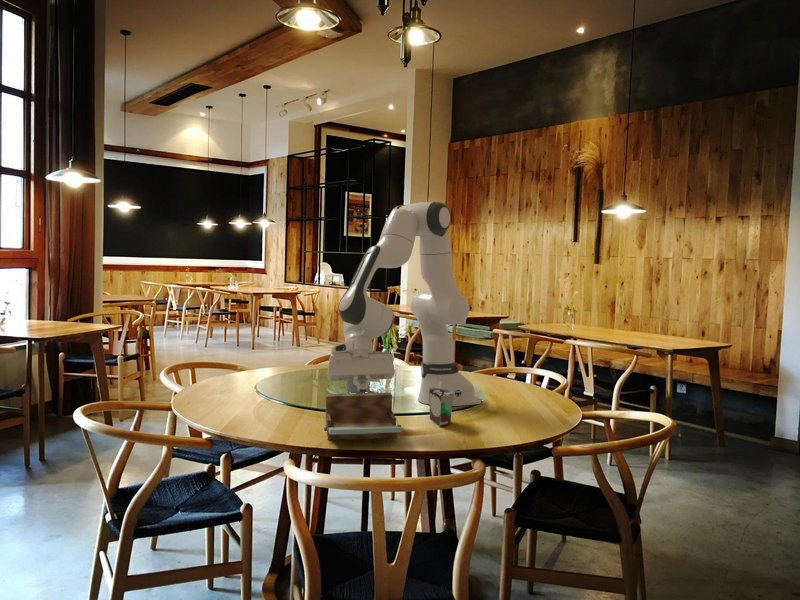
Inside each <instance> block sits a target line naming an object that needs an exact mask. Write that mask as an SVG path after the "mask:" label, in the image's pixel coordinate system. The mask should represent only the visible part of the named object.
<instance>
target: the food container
mask: <svg viewBox="0 0 800 600" xmlns="http://www.w3.org/2000/svg"><path fill="white" fill-rule="evenodd" d="M454 400H455V397H454V394H453V392H452V391H451V390H448V389H442V388H429V402H430V404H429V420H430V421H431V422H432V423H433V424H435V425H436V426H437V427H439V428H445V427H449V426H451V422H452V419H451V418H452V409H453V406H452V402H453V401H454Z"/></svg>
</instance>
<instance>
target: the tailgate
mask: <svg viewBox="0 0 800 600" xmlns="http://www.w3.org/2000/svg"><path fill="white" fill-rule="evenodd" d="M392 432H397V433H403V432H402V426H401V427H399V426H398V425H396V426H366V427H334V428H329V434H330V435H333V434H354V435H365V434H377V433H392Z"/></svg>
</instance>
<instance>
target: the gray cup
mask: <svg viewBox="0 0 800 600" xmlns="http://www.w3.org/2000/svg"><path fill="white" fill-rule="evenodd" d="M345 382H346V392H347V391H348V392H351V393H365V392H358V388H357V387H356V385H355V384H354V383H353V380H349V381H345ZM358 382H359V383H360V384H365V383H366V381H365V380H358ZM370 385H371V382H370V383H369V385H368V391H366V392H369V393H370V391H371V387H370ZM348 392H347V393H348Z"/></svg>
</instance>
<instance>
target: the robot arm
mask: <svg viewBox="0 0 800 600" xmlns="http://www.w3.org/2000/svg"><path fill="white" fill-rule="evenodd" d="M451 218H452V215H451V211H450V209H449V208H448V206H447V205H446V204H445V203H443V202H439V201H433V202H430V201H429V202H428V201H427V202H425V201H424V202H423V201H421V202H419V201H418V202H416V203H409V204H400V205H396V207H393V209H392V210H391V212H390V214H389V215H388V217H387V218H386V220H385V223H384V226H383V228H382V231H381V234H380V237H379V240H378V242H377V243H376V245H373V246H371V247H369V248H367V251H366V252H365V254H364V255H363V257H362V259H361V261H360V263H359V265H358V267H357V268H356V271H355V273H354V275H353V277H352V279H351V282H350V284H349V286H348V288H347V289H346V291H345V292H344V294H343V295H342V297H341V298H340V300H339V303H338V313H339V315H340V319H341V320H342V331H343V332H342V335H343V337H344V342H343V343H340V344H338V345H334V346H332V347H331V349H330V355H329V356H330V357H329V358H328V364H327V365H328V366H327V379H328V380H329V381H330V382H342V381H344V382H346V381H349V380H353V383H354V384H355V385H356V387H357V388H358V392H366V391H368V385H369V383H370V384H371V380H391V379H392V380H393V378H394V376H395V375H396V374H395V373H396V369H395V365H394V361H395V360H394V355H393V353H392V352H389V351H386V350H384V351H381V350H380V351H377V350H376V351H374V345H373V343H374V342H373V339H375V340H376V339H378V338H379V337H382V336H383V335H385V334H387V333H388V332H389V331H391V330H392V327H393V325H394V322H395V313H394V310H393V308H392V307H389V306H388V305H386V304H384V303H383V302H380V301H378V300H376V299H374V298H372V297H370V296H369V295H368V293H367V290H368V288H369V285H370V284H371V281H372V279H373V277H374V274H375V273H376V271H377V270H378V269H379V268H381V269H394V268H400V267H402V266H404V265H405V264H406V263H408V261H410V258H411V256H412V253H413V250H414V244H415V240H416V237H419V248H418V250H419V262H420V263H419V265H420V275H421V278H422V279H423V280H424V281H425V282H426V284H427V286H428V288H429V290H425V291H421V292H418V293H416V294H414V296H413V297H412V298H411V302H410V311H411V312H412V315H413V316H414V317H415V319H416V321H417V323H418V326H419V329H420V333H421V337H422V338H421V339H422V361H421V365H420V376H421V384H420V389H419V395H418V396H417V401H418V402H419V403H421V404H424V405H425V404H426V405H430V402H429V388H442V389H448V390H451V391H452V392H453V394H454V397H455V400H454V401H453V402H452V407H460V406H461V407H462V406H470V405H471V406H472V405H473V406H474V405H480V404H482V399H481V397H480V396H479V395H477V394H475V393H476V392H475V387H474V384H473V383H472V382H471V380H469V379H468V378H467V377H465V376H464V375H463V374H461V373H460V372H459V371H462V370H463V368H464V366H463V365H462V364H461V363H458V362H456V361H455V340H454V338H453V337H452V335H451V334H450V333H449V330H448V327H447V325H449V326H451V325H458V324H459V325H460V324H462V323H464V322H465V321H466V320H467V319H468V317H469V314H470V305H469V302H468V300H467V299H466V298H465V297H464V295H462V293H461V291H460V289H459V287H458V285H457V282H456V279H455V275H454V271H453V258H452V257H453V255H452V246H451V240H450V234H449V230H448V229H449V228H450V225H451V223H452V219H451ZM358 380H365V381H366V383H365V384H360V383H359V382H358Z"/></svg>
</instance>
